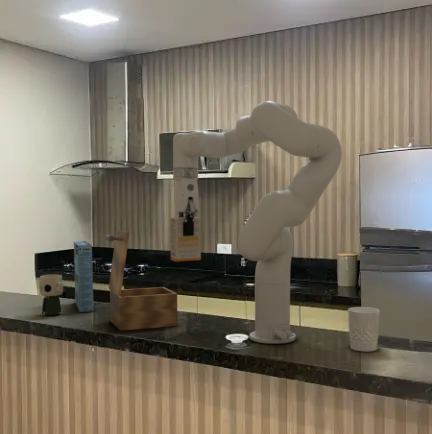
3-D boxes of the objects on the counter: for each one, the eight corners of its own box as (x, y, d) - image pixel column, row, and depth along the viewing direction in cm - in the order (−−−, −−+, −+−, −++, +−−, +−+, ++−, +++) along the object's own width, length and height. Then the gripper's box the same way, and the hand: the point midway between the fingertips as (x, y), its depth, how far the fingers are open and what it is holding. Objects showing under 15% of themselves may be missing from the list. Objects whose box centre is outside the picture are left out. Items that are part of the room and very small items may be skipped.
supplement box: (195, 258, 185) (195, 216, 184) (201, 260, 181) (201, 217, 180) (169, 260, 181) (169, 216, 181) (175, 261, 177) (175, 217, 176)
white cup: (346, 344, 157) (346, 306, 157) (376, 345, 156) (377, 307, 156) (349, 352, 149) (350, 312, 149) (382, 352, 149) (382, 312, 148)
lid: (119, 230, 188) (103, 228, 186) (129, 232, 175) (112, 230, 173) (111, 288, 188) (95, 287, 186) (120, 295, 174) (103, 294, 173)
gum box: (93, 311, 204) (92, 244, 203) (78, 312, 203) (77, 245, 202) (88, 302, 223) (87, 240, 222) (74, 303, 221) (73, 241, 220)
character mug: (32, 314, 199) (31, 275, 199) (49, 311, 205) (48, 273, 205) (54, 318, 193) (53, 278, 193) (71, 314, 199) (70, 275, 198)
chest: (164, 317, 195) (164, 287, 194) (177, 325, 181) (177, 293, 181) (110, 321, 188) (109, 290, 188) (119, 330, 175) (119, 297, 174)
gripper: (206, 174, 173) (206, 236, 174) (188, 175, 189) (188, 233, 190) (182, 173, 170) (181, 237, 171) (165, 175, 186) (165, 233, 187)
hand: (185, 234), depth 181 cm, fingers closed on supplement box, 5 cm apart
